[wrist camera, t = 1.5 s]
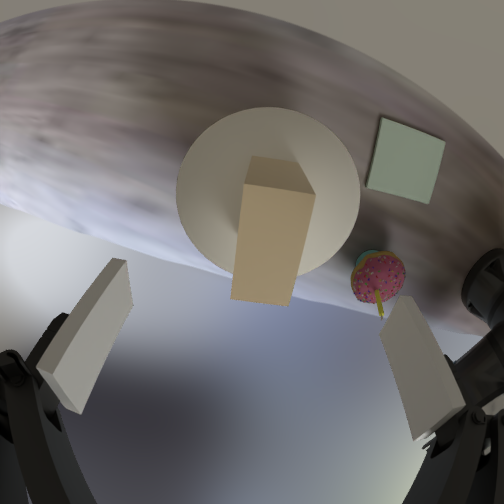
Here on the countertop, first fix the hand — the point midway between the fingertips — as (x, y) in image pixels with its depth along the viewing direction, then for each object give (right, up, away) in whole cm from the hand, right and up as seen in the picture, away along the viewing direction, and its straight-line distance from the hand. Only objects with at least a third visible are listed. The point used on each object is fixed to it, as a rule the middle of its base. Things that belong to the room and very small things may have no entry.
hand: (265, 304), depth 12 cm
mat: (+21, +15, +20) cm, 33 cm away
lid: (+1, +7, +13) cm, 15 cm away
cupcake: (+18, +1, +29) cm, 34 cm away
